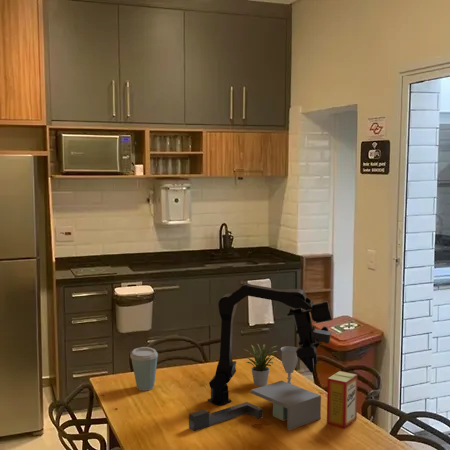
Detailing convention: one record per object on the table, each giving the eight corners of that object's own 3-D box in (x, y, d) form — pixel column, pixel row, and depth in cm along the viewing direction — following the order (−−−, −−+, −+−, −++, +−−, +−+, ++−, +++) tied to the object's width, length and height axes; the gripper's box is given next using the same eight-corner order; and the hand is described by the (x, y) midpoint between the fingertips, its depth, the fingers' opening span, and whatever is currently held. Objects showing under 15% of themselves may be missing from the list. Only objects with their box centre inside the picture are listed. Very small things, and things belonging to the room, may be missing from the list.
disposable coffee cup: (163, 389, 239) (163, 351, 237) (138, 395, 233) (137, 356, 231) (150, 381, 248) (150, 344, 246) (126, 386, 242) (125, 349, 240)
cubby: (250, 412, 216) (250, 389, 216) (281, 402, 226) (281, 380, 225) (289, 430, 202) (289, 406, 201) (320, 418, 211) (320, 395, 210)
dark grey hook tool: (189, 428, 203) (189, 413, 203) (246, 409, 219) (246, 396, 219) (205, 437, 197) (205, 422, 196) (262, 417, 212) (263, 403, 212)
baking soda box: (344, 428, 203) (345, 381, 202) (326, 423, 207) (327, 377, 206) (356, 419, 211) (357, 373, 210) (339, 414, 215) (339, 369, 213)
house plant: (287, 382, 247) (288, 342, 245) (271, 393, 235) (271, 351, 234) (256, 376, 254) (257, 337, 253) (239, 385, 243) (239, 345, 241)
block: (272, 416, 214) (273, 402, 213) (283, 412, 217) (283, 398, 216) (283, 420, 210) (283, 406, 209) (293, 417, 213) (293, 403, 212)
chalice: (297, 399, 228) (297, 352, 227) (278, 398, 230) (279, 351, 228) (298, 392, 236) (299, 346, 234) (281, 391, 237) (281, 345, 235)
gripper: (323, 328, 206) (334, 373, 206) (328, 315, 224) (338, 356, 224) (291, 333, 209) (302, 378, 209) (299, 320, 227) (308, 361, 227)
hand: (314, 368), depth 217 cm, fingers open, 9 cm apart
